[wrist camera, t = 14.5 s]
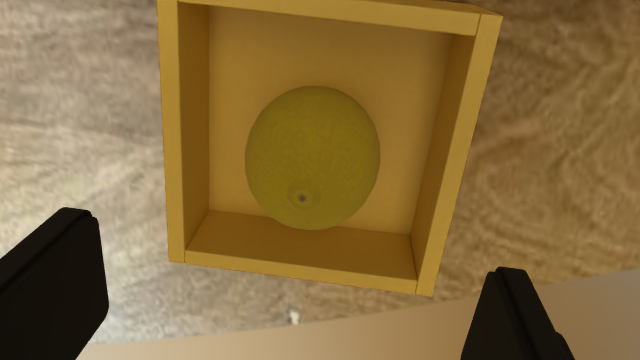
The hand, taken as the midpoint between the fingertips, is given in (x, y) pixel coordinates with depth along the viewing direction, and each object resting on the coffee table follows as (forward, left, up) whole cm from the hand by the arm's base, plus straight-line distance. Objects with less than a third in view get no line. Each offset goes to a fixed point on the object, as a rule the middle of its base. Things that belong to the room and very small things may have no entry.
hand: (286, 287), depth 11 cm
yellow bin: (0, 0, -14) cm, 14 cm away
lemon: (0, 0, -13) cm, 13 cm away
